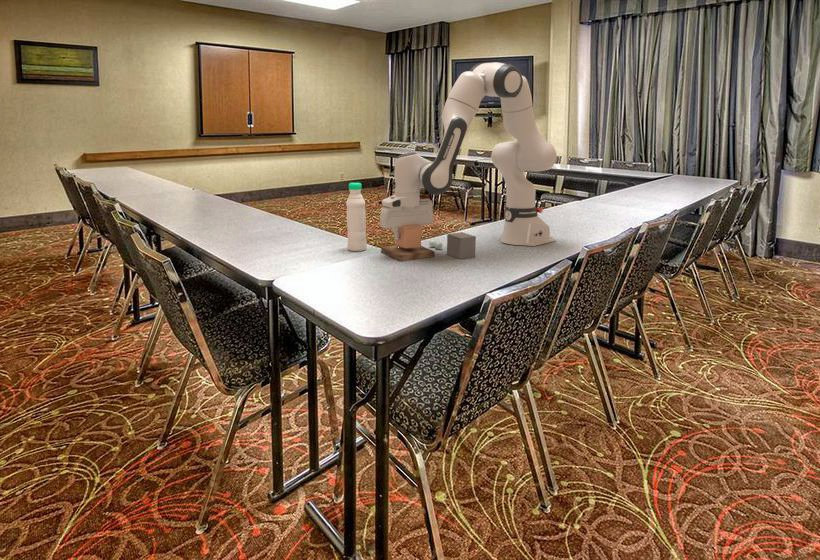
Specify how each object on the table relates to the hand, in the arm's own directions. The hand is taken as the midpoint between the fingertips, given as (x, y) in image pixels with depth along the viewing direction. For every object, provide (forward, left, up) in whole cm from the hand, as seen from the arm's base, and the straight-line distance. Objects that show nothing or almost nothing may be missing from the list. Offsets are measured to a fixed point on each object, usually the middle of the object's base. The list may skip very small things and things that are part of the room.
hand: (407, 238), depth 187 cm
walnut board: (0, 0, -6) cm, 6 cm away
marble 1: (-13, -5, -5) cm, 15 cm away
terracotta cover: (0, 0, -2) cm, 3 cm away
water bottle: (+13, -16, -6) cm, 22 cm away
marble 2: (-13, -1, -5) cm, 14 cm away
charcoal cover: (-16, +11, -6) cm, 20 cm away
